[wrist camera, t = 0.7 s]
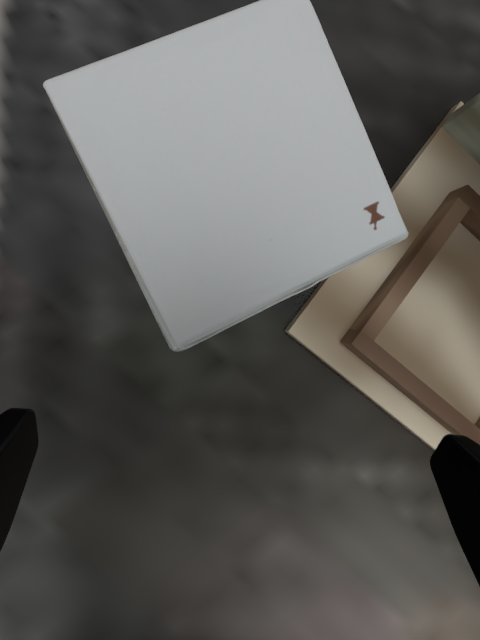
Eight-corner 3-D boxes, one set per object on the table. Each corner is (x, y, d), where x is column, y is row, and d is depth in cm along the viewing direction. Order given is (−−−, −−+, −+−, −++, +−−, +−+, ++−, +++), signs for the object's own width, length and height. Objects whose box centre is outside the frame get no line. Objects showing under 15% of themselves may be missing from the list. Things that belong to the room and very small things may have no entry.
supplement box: (235, 165, 22) (313, -30, 9) (286, 278, 22) (422, 241, 10) (119, 214, 21) (29, 70, 8) (177, 331, 21) (175, 362, 9)
